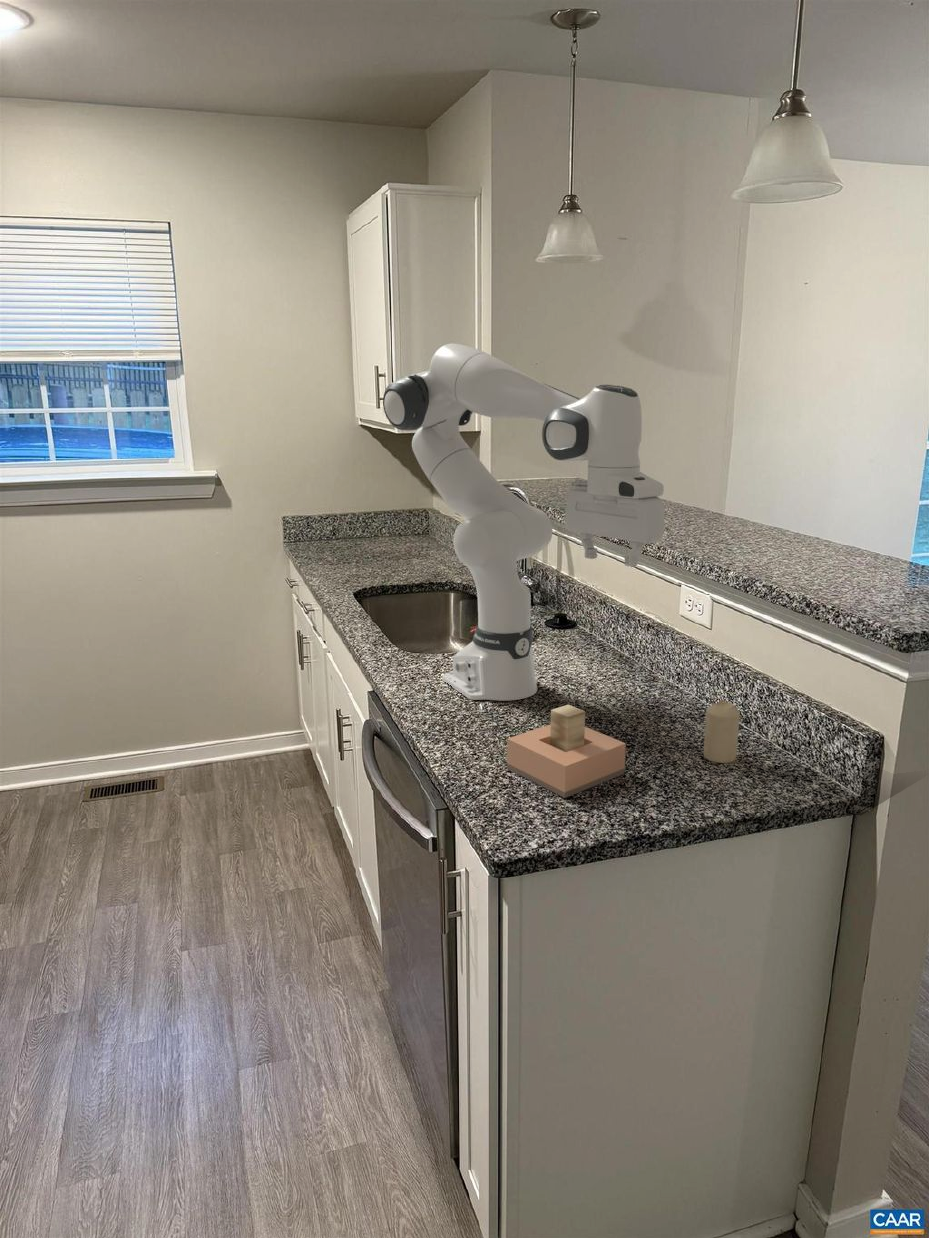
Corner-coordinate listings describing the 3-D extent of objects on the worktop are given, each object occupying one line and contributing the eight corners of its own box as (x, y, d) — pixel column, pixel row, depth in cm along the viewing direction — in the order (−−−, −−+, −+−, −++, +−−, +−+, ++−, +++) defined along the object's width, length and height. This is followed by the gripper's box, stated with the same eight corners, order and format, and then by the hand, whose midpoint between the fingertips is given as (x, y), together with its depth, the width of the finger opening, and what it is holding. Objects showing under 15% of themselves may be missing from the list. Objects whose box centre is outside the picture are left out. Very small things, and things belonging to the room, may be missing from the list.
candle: (705, 762, 145) (709, 708, 143) (701, 749, 150) (705, 697, 148) (738, 764, 144) (742, 710, 142) (733, 751, 150) (737, 698, 147)
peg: (549, 765, 142) (550, 709, 140) (566, 758, 145) (568, 704, 142) (566, 773, 139) (567, 716, 137) (583, 766, 142) (585, 711, 139)
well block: (507, 768, 144) (507, 738, 142) (565, 747, 152) (566, 718, 151) (564, 798, 133) (565, 766, 132) (624, 773, 141) (625, 743, 140)
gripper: (557, 479, 150) (556, 555, 154) (646, 489, 135) (642, 573, 138) (582, 477, 154) (580, 551, 158) (672, 486, 138) (667, 568, 142)
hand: (610, 562), depth 148 cm, fingers open, 8 cm apart
